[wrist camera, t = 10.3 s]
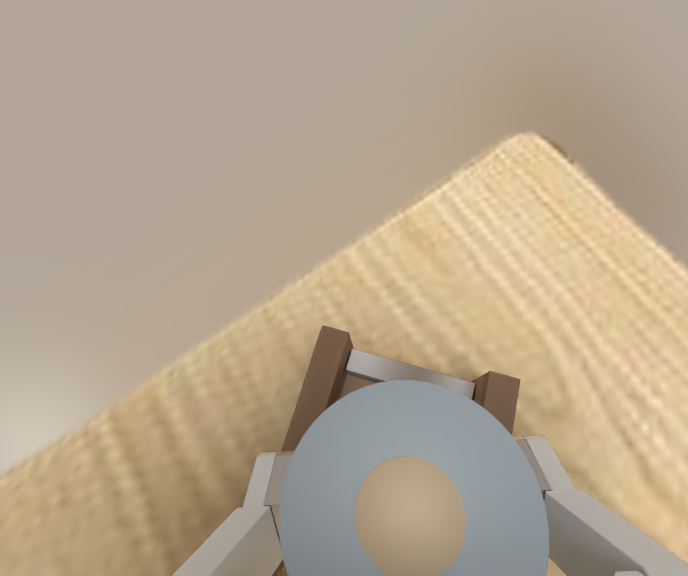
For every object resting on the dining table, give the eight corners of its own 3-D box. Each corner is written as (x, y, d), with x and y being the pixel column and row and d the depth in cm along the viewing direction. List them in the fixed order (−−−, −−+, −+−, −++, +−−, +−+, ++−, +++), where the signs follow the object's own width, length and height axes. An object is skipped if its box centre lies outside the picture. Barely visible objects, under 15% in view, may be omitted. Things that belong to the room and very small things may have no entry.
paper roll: (341, 539, 14) (278, 691, 6) (335, 412, 16) (276, 388, 8) (465, 533, 14) (585, 685, 6) (447, 404, 16) (518, 370, 7)
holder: (265, 532, 22) (231, 561, 17) (325, 344, 26) (311, 322, 21) (464, 608, 20) (492, 665, 15) (500, 394, 24) (533, 383, 19)
